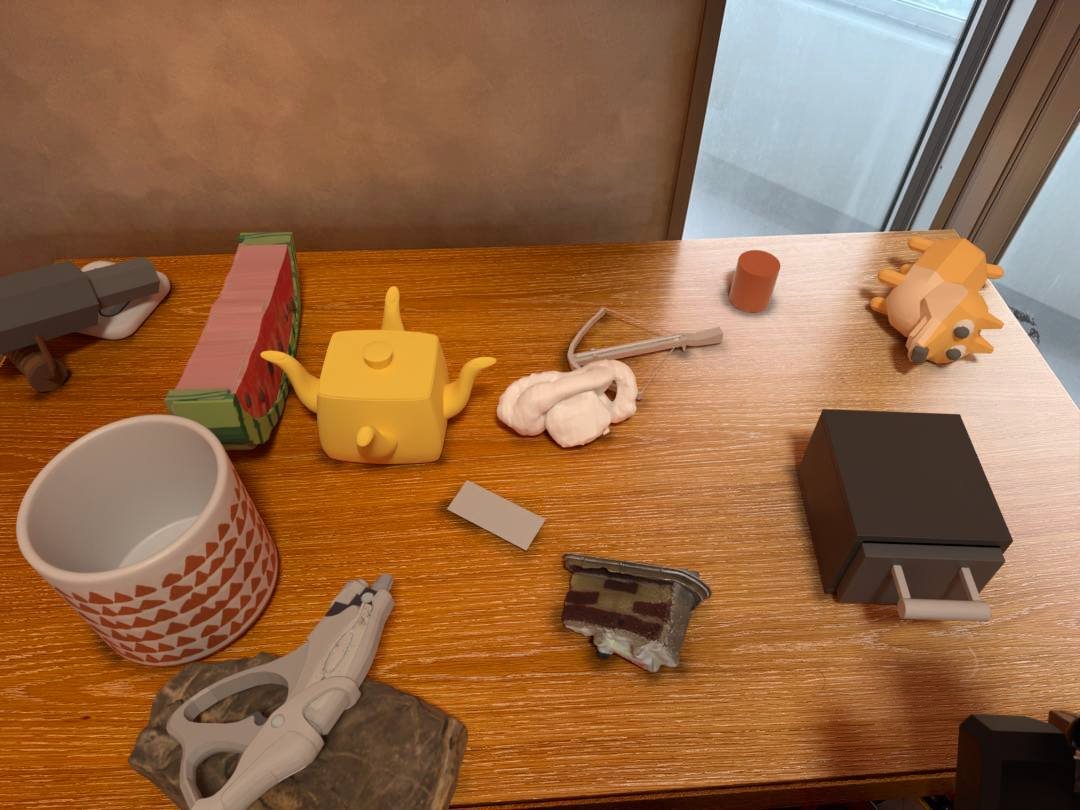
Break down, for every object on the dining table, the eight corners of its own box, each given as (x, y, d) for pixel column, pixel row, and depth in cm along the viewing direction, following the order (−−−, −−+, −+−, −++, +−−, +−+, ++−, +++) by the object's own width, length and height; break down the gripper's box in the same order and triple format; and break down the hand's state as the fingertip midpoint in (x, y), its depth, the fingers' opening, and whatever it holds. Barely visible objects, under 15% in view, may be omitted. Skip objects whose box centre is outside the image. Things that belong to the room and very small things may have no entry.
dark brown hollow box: (966, 599, 67) (1014, 541, 60) (824, 594, 67) (857, 535, 60) (922, 475, 75) (960, 413, 69) (796, 471, 75) (822, 408, 69)
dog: (846, 294, 81) (983, 344, 74) (929, 207, 91) (1055, 244, 85) (831, 356, 86) (957, 408, 80) (911, 267, 97) (1028, 306, 90)
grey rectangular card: (446, 509, 71) (448, 512, 71) (526, 550, 68) (527, 554, 69) (466, 479, 72) (468, 483, 73) (545, 519, 69) (546, 522, 70)
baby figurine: (479, 384, 75) (513, 468, 73) (593, 319, 72) (632, 405, 69) (520, 399, 83) (552, 476, 80) (625, 341, 79) (661, 419, 77)
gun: (322, 562, 63) (432, 604, 59) (131, 792, 51) (252, 865, 47) (310, 536, 61) (423, 578, 57) (109, 768, 49) (233, 843, 45)
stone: (251, 612, 64) (235, 579, 60) (491, 751, 57) (489, 723, 54) (117, 768, 56) (89, 741, 52) (377, 949, 50) (366, 933, 46)
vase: (193, 489, 71) (130, 388, 62) (315, 554, 66) (268, 455, 57) (62, 618, 64) (-32, 525, 54) (190, 703, 59) (111, 616, 49)
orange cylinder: (777, 300, 91) (789, 264, 87) (752, 318, 89) (763, 281, 85) (745, 281, 93) (755, 244, 89) (720, 297, 91) (729, 261, 87)
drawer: (986, 656, 62) (1027, 613, 57) (850, 651, 62) (879, 607, 57) (926, 489, 73) (957, 440, 68) (810, 485, 73) (832, 435, 68)
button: (174, 272, 89) (120, 333, 82) (179, 284, 90) (126, 345, 83) (90, 255, 90) (30, 314, 83) (95, 267, 91) (37, 327, 85)
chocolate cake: (525, 636, 64) (635, 649, 54) (553, 550, 67) (662, 548, 57) (611, 677, 68) (726, 696, 59) (634, 595, 71) (747, 600, 62)
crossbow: (585, 415, 79) (585, 401, 78) (553, 328, 88) (553, 313, 86) (743, 383, 81) (746, 368, 80) (697, 300, 90) (699, 285, 88)
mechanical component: (120, 227, 85) (127, 309, 91) (-75, 270, 73) (-51, 361, 79) (176, 273, 81) (180, 355, 87) (-19, 327, 69) (1, 418, 75)
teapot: (499, 427, 77) (498, 352, 70) (377, 515, 70) (362, 441, 63) (399, 348, 84) (389, 272, 77) (279, 421, 77) (255, 345, 70)
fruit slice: (265, 492, 69) (238, 400, 63) (188, 494, 69) (153, 402, 62) (313, 314, 89) (297, 230, 83) (254, 315, 89) (233, 231, 82)
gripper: (1572, 693, 31) (1229, 584, 47) (1078, 675, 31) (899, 572, 47) (1544, 979, 32) (1214, 777, 47) (1058, 961, 32) (887, 765, 47)
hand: (1054, 718), depth 47 cm, fingers closed
